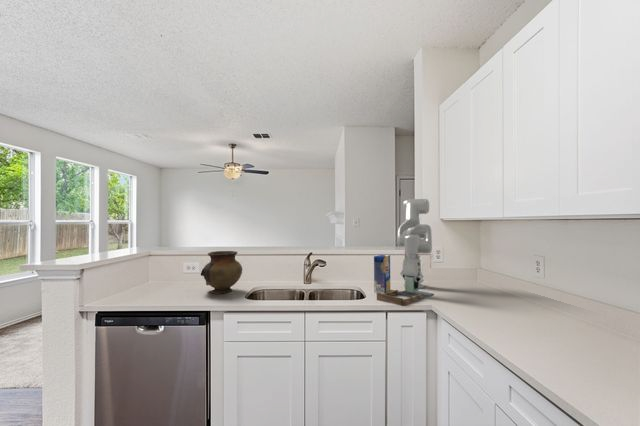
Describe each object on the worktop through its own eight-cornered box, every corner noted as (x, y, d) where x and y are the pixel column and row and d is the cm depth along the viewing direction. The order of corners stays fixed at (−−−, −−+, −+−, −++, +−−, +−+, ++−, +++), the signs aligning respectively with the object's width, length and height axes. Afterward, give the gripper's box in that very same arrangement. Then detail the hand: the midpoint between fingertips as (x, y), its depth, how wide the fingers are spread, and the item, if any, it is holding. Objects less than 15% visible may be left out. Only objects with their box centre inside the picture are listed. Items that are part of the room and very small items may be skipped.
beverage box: (390, 290, 193) (390, 255, 193) (385, 293, 183) (384, 257, 184) (380, 288, 196) (379, 254, 197) (374, 292, 187) (373, 256, 187)
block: (410, 289, 182) (410, 275, 182) (418, 290, 179) (418, 277, 179) (405, 290, 178) (405, 277, 179) (412, 292, 175) (412, 278, 175)
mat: (409, 290, 191) (409, 289, 191) (433, 294, 179) (433, 293, 179) (396, 294, 182) (396, 292, 182) (421, 299, 170) (421, 297, 170)
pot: (204, 299, 173) (203, 255, 173) (197, 291, 193) (196, 252, 193) (247, 292, 185) (246, 252, 186) (237, 286, 206) (236, 249, 206)
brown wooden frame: (396, 294, 181) (396, 288, 182) (420, 299, 170) (420, 292, 170) (376, 299, 169) (376, 293, 169) (401, 305, 157) (401, 298, 157)
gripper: (428, 257, 175) (428, 289, 175) (402, 254, 188) (402, 284, 187) (421, 258, 170) (421, 291, 170) (395, 256, 183) (395, 286, 182)
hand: (411, 287), depth 179 cm, fingers closed on block, 5 cm apart
